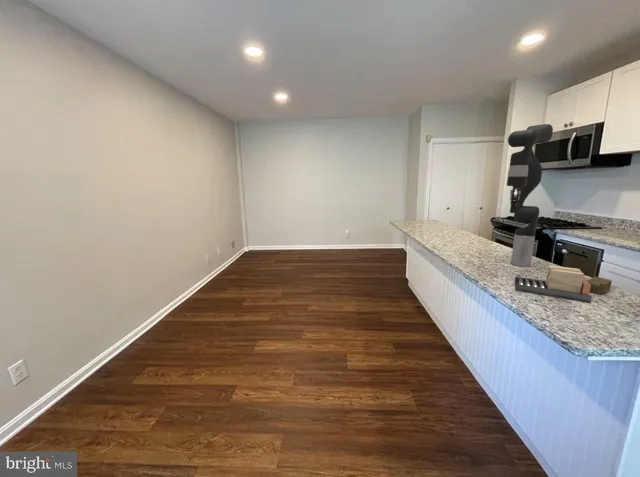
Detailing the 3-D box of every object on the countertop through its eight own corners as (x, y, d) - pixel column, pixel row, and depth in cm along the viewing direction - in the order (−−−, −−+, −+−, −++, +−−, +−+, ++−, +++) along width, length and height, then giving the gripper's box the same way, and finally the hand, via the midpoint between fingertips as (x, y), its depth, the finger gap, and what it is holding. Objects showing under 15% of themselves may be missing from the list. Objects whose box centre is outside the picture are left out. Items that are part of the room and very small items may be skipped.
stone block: (583, 291, 119) (585, 280, 118) (592, 286, 125) (594, 275, 124) (601, 295, 114) (604, 284, 113) (610, 290, 120) (613, 279, 119)
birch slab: (545, 282, 122) (548, 265, 120) (575, 286, 116) (579, 268, 115) (548, 288, 115) (551, 270, 114) (580, 293, 110) (583, 274, 108)
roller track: (514, 282, 130) (516, 268, 128) (583, 292, 117) (586, 276, 116) (515, 290, 120) (517, 275, 119) (590, 302, 107) (594, 286, 106)
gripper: (528, 175, 120) (523, 214, 124) (526, 175, 131) (521, 211, 135) (508, 175, 124) (503, 213, 128) (507, 176, 135) (503, 211, 139)
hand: (512, 212), depth 131 cm, fingers closed
